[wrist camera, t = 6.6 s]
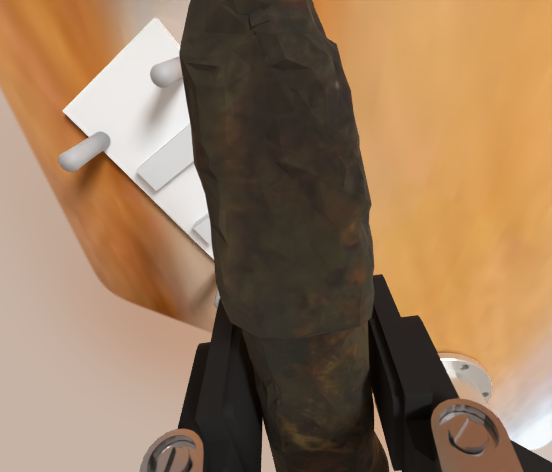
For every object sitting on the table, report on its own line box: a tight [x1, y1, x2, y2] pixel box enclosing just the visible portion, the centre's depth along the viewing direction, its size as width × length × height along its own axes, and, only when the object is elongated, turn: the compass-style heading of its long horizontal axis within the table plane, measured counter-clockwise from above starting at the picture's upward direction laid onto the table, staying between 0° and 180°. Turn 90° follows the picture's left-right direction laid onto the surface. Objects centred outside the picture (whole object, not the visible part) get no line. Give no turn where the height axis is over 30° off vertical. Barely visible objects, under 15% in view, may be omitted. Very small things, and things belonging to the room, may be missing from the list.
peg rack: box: [58, 18, 220, 308], centre depth 26 cm, size 20×9×6 cm, turn 37°
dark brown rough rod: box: [179, 0, 389, 472], centre depth 10 cm, size 19×4×5 cm, turn 6°
